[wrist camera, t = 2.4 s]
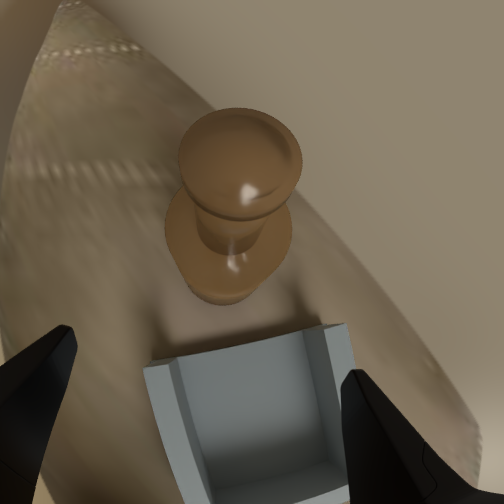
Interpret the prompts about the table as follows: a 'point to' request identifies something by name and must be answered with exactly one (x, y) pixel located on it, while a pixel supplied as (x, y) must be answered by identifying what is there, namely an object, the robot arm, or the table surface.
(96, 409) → the table surface
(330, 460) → the u rest
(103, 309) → the table surface
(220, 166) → the amber bottle
